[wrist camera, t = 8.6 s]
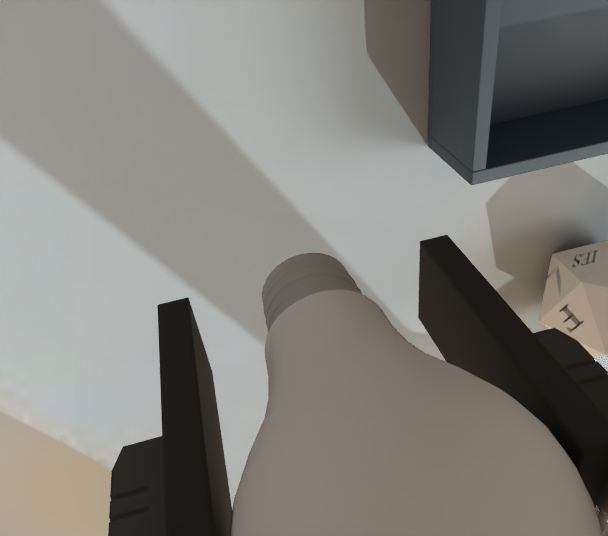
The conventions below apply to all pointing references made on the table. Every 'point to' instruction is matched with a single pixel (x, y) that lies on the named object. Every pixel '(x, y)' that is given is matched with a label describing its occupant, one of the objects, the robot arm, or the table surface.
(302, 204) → the table surface
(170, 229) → the table surface
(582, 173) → the table surface
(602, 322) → the die
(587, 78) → the tote
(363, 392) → the lightbulb
